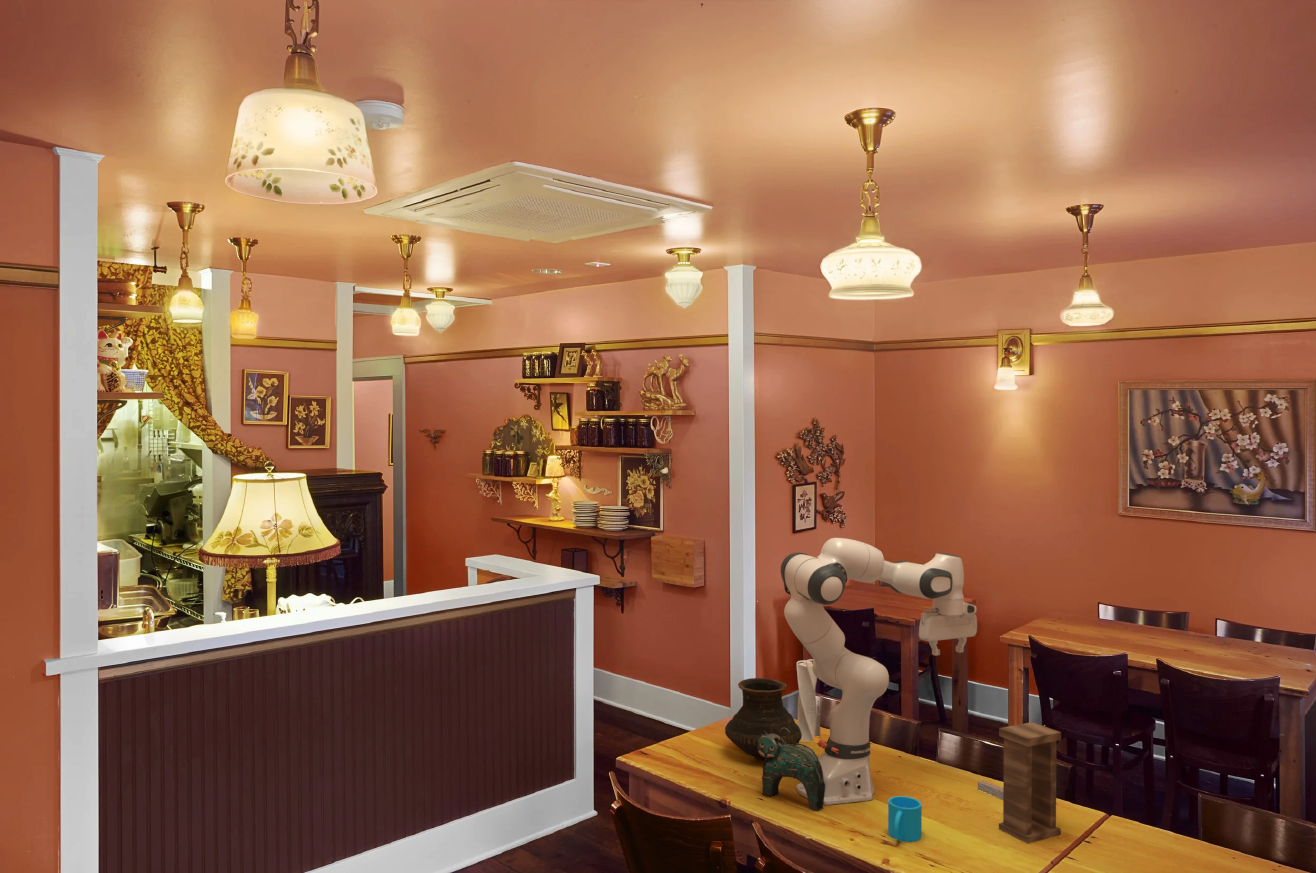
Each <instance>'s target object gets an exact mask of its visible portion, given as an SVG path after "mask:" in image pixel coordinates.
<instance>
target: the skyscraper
mask: <svg viewBox="0 0 1316 873" xmlns="http://www.w3.org/2000/svg"><path fill="white" fill-rule="evenodd" d="M812 665H813V658H812V659H810V658H809V659H807V660H802V659H801V660H798V661H797V662H796V672H797V685H798V698H797V725H798V726H799V728H800V730H801V733H802V737H801V740H803V741H813V742H814V736H815V735H816V736H820V737H821V724H820V723H821V714H820V705H819V703H820V702H819V700H817V698H816V697H817V696H816V686H817V679H818V678H817V677H816V676H815V674H814V672H813V666H812Z"/></svg>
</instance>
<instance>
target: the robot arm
mask: <svg viewBox="0 0 1316 873" xmlns="http://www.w3.org/2000/svg"><path fill="white" fill-rule="evenodd" d="M964 572H965V570H964V564H963V560H962V558H961V557H960V556H959V555H956V554H951V553H945V552H936V553H935V555H934V556H933V558H932V559H931V560H930V561H928V562H926V563H924V564H920V563H915V562H911V561H907V560H897V561H888V560H885V557H884V555H883V552H882V551H881V550H880V549H878V548H877V547H875V546H873V545H870V544H869V543H866V542H863V541H859V540H855V539H851V538H845V537H832V538H830V539H828V540H826V541H825V542H824V544H823V546H822V547H821V549H820V554H819V555H817V557H815V556H812V555H809V554H808V553H804V552H793V553H790V554H788V555H787V556H785V558H784V559H783V560H782V562H781V565H780V575H781V576H780V577H781V579H782V582H783V588H784V591H785V593H786V594H788V595H790V599H789V600H788V601H786V602H787V603H786V604H785V605H784V606H785V607H784V609H783V612H784V617H785V620H786V622H787V624H788V626H789V627H790V629H791V631H792V632H793V634H794V635H795V636H796V638H797V639H798V640H799V642H800V643H801V644H802V646H803V647H804V648H805V649H806V651H807V652H808V653H809V655H811V657H812V659H813V661H812V664H813V665H812V666H813V672H814V674H815V676H816V677H817V679H819V680H820V681H822V683H824V684H826V685H827V686H830V687H832V688H835V689H839V690H841V692H842V693H841V694H842V696H841V700H840V702H839V703H837V704H836V705H834V706H833V707H832V708H831V709H830V713H829V736H828V739H827V741H824V740H822V739H820V740H819V742H818V743H817V746H818V747H819V748H821V749H824V752H822V753H821V755H819V757H818V756H817V758H818V760H819V762H820V764H821V767H822V771H823V777H824V782H825V793H824V802H823V806H825V805H826V806H829V805H837V804H839V805H840V804H848V803H855V802H858V803H859V802H865V801H873V794H874V793H875V787H874V784H873V779H872V774H871V765H870V755H871V740H870V737H869V736H870V717H871V711H872V708H873V706H874V703H875V701H877V699H878V698H880V697H881V696H882V695H884V693H885V692H886V691H887V688H888V687H889V682H890V678H889V677H890V675H889V672H888V669H887V668H886V666H884V664H882V663H880V662H879V661H877V660H875V659H873V658H872V657H869V656H865V655H861V654H857V653H854V652H852V651H851V650H849V649H848V648H846V647H845V642H846V637H845V634H844V632H843V631H842V629H841V628H840V627H839V626H838V624H837V623H836V622H835V620H834V619H833V618H832V616H830V614H829V613H828V612H827V610H826V609H825V608H824V605H826V606H830V605H833V604H835V603H837V602H838V601H839V600H840V598H842V596H843V594H844V592H845V589H846V584H847V582H848V579H849V580H853V581H855V582H861V583H870V584H871V583H874V582H876V581H880V582H882V583H885V584H886V585H888V586H889V588H890V589H892V590H893V592H896V593H897V594H900V595H901V594H902V595H909V596H913V597H918V598H921V599H927V600H928V599H929V600H931V599H932V608H927V609H924V611H922V613H921V615H920V621H919V627H918V628H919V629H918V638H919V640H921V641H924V642H928V644H929V646H930V648H931V655H933V656H936V657H937V656H940V655H941V649H939V648H938V646H937V645H938V643H939V642H938V641H943V640H944V641H945V640H954V639H957V640H958V643H957V645H955V652H956V653H964V647H965V645H966V643H967V638H971V637H972V638H973V637H975V636H976V634H977V633H978V618H977V615H976V613H977V610H978V609H977V606H976V605H974V604H971V603H968V602H965V600H964V599H965V597H964V594H963V588H964V582H965V573H964ZM795 789H796V791H797V792H798V794H800V795H801V796H803V797H805V798H806V799H808V797H807V793H806V790H805V787H804V785H803V784H802V783H801V782H800V783H798V784H796V788H795Z"/></svg>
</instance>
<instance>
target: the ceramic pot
mask: <svg viewBox="0 0 1316 873" xmlns="http://www.w3.org/2000/svg"><path fill="white" fill-rule="evenodd" d="M737 686H738V688H739V689H740V690H741V691H742V706H740V709H738V711H737V712H736V713H735V714H734V715H733V716H732V717H731V719H730V720H729V721H728V722H727V723H726V725H725V727H724V733H725V736H726V737H727V738H728V739H729V740H730V741H731V742H732V743H733V745H735V746H736V747H737V748H738V749H740V750H741V751H742V752H743V753H745V754H747V755H749V756H750V757H752V758H753V757H754V758H756V759H761V760H765V758H764V757H762V756H761V755H760V754H759V753H758V749H757V742H758V740H759V738H760V737H761V735H762V732H763V731H765V732H766V733H767V734H773V733H774V734H777V735H779V736H780V734H781V738H782V739H783V741H784V742H785V743H786V744H800V742H799V741H800V740H801V737H802V733H801V730H800V728H799V726H798V723H796V721H795V719H794V717H793V715H792V713H789V711H788V710H787V709H786V707H785V706H784V702H783V697H782V696H783V692H784V690H786V689H787V688H788V687H787V684H786V683H785V682H782V681H779V680H776V679H771V678H766V677H765V678H763V677H753V678H746V679H742V680H740V682H738V683H737ZM783 727H785V728H787V729H788V730H789V731H790V732H791V734H790V733H789V732H788V731H787V730H786V729H782V730H781V733H780V729H781V728H783Z"/></svg>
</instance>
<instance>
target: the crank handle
mask: <svg viewBox="0 0 1316 873" xmlns="http://www.w3.org/2000/svg"><path fill="white" fill-rule="evenodd" d="M978 790H981V791H983V792H986V793H987V794H986V793H985V794H986V795H988V794H991V795H992V796H991V795H990V796H991V797H993V796H995V797H994V798H996V797H997V798H996V799H998V798H999V799H998V800H1001V801H1003V786H1002V787H1001V786H999V785H996V784H993V783H990V782H989V781H985V780H980V781H978V782H977V791H978ZM983 792H982V793H983Z"/></svg>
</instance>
